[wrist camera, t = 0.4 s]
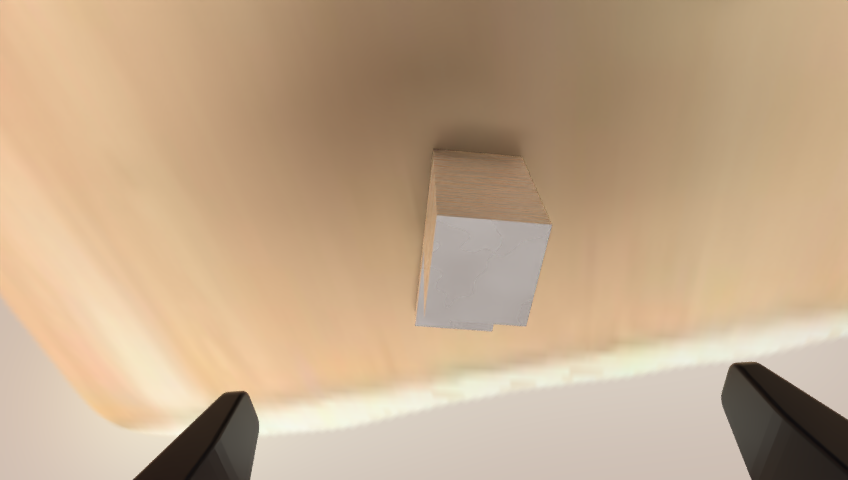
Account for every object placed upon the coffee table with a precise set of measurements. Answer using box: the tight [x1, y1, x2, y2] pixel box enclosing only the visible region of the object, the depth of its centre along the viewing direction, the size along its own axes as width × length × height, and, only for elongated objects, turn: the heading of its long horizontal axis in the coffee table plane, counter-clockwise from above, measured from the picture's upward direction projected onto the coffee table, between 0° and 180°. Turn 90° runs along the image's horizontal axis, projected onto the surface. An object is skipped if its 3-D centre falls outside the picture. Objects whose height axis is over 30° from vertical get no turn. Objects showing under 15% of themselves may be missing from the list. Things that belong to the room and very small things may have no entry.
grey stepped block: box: [415, 149, 552, 331], centre depth 20 cm, size 4×8×6 cm, turn 174°
